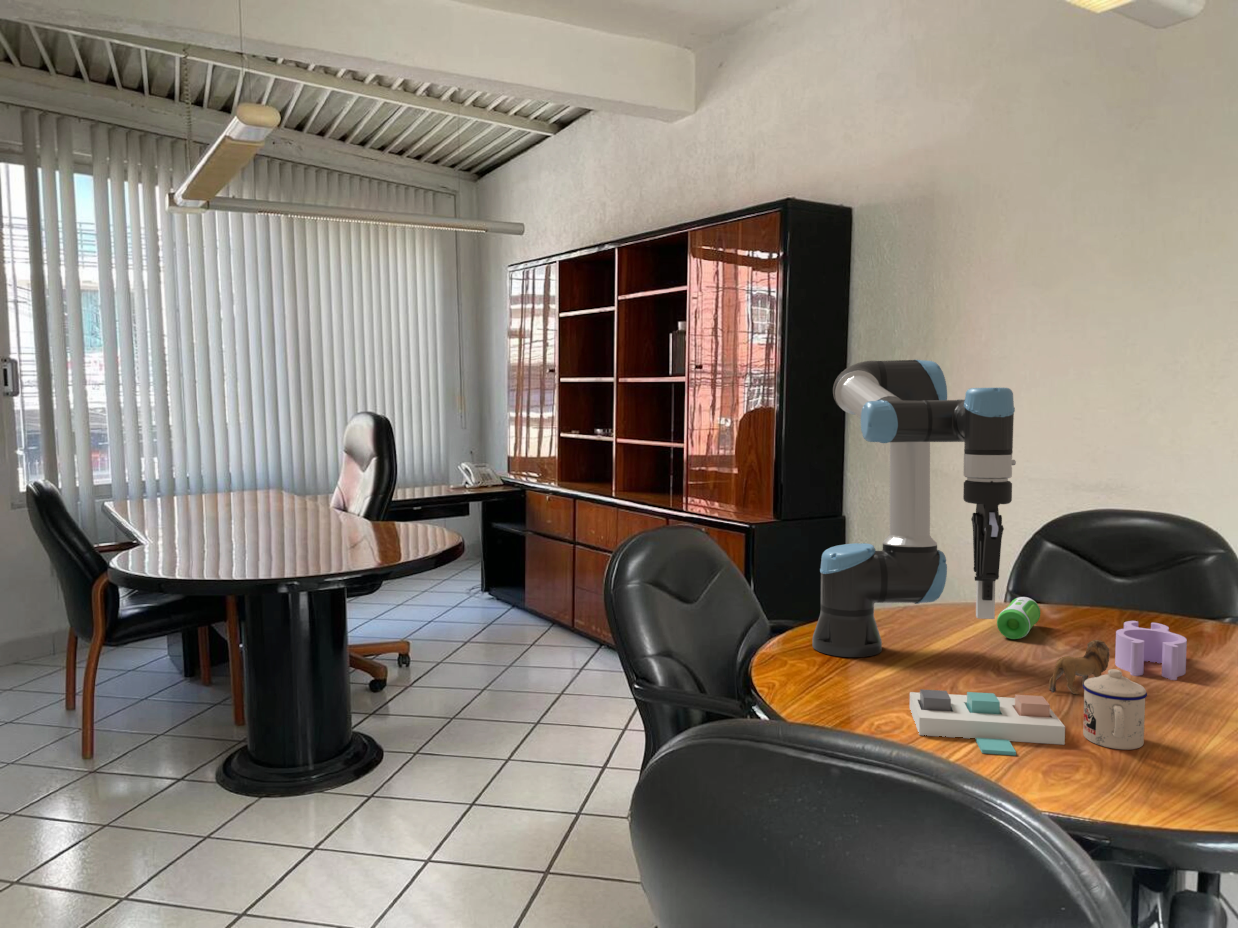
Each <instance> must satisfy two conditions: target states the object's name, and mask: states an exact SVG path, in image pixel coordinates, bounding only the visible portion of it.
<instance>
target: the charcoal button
mask: <svg viewBox="0 0 1238 928" xmlns="http://www.w3.org/2000/svg"><path fill="white" fill-rule="evenodd" d="M919 693H920V708H921V710H933V711H950V712H951V699H950V697H949V695H948V694H949V693H948V691H947V690H941V689H940V690H938V689H937V690H936V689H923V688H922V689H919Z"/></svg>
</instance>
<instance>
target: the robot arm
mask: <svg viewBox="0 0 1238 928" xmlns="http://www.w3.org/2000/svg"><path fill="white" fill-rule="evenodd" d="M832 394H833V399H834V401H835V404H836V405H837V406H838V407H839V408H840V409H841V410H842V411H844V412H845V413H847V414H850V415H856V416H857V417H858V418H859V419H860V431H861V433H862V438H863V439H864V440H865V441H867V442H868V443H879V444H889V535H888V536H887V537H886V538H885V539H884V540H883V541H882V549H881V550H876V548H875V546H874V545H873V544H871V543H865V542H863V543H858V542H855V543H846V544H839V545H835V546H831V547H829V548H827V549H825V550H824V551H823V552H822V554H821V558H820V559H821V561H820V568H819V572H820V613H819V616H818V620H817V622H816V626H815V628H814V631H813V634H812V648H813V650H815V651H817V652H819V653H822V654H825V655H826V654H827V655H829V656H834V657H840V658H841V657H843V658H867V657H871V656H876V655H879V654H880V653H881V652H882V647H883V646H882V642H883V641H882V637H881V634H880V632H879V628H878V625H877V621H876V619H875V603H877V604H878V603H880V604H894V603H898V604H899V603H902V604H904V603H905V604H909V603H910V604H916V605H919V604H922V603H923V604H924V603H925V604H926V603H927V604H928V603H933V602H936V601H937V600H939V598H940V597H941V596H942V594H943V592H944V589H945V586H946V581H947V577H948V576H947V574H948V564H947V557H946V555H945V553H944V551H941V550H939V549H938V542H936V541H935V540H934V538H932V536H931V443H964V448H963V476H964V477H965V478H966V480H964V481H963V498H962V499H963V501H964V502H965V503H968V504H974V505H976V506H975V512H972V516H971V524H972V525H971V526H972V540H973V541H972V543H973V545H972V546H973V549H972V550H973V551H972V552H973V571H974V573H975V576H974V581H975V582H976V588H975V589H976V591H975V596H976V597H975V618H977V619H979V620H981V619H984V620H987V619H988V620H995V617H996V614H995V611H996V610H995V609H996V607H995V606H996V581H997V580H999V579H1000V565H1001V564H1000V563H1001V562H1000V561H1001V553H1002V552H1001V551H1002V550H1001V549H1002V539H1003V534H1004V530H1005V528H1004V525H1003V516H1002V515H1001V514H1000V512H999V510H1000V509H999V506H1000V505H1008V504H1010V503H1012V500H1013V483H1012V482H1011V481H1010V480H1009V479H1011V478H1012V477H1013V467H1012V466H1015V465H1016V464H1017V463H1016V462H1017V461H1016V460H1015V459H1013V448H1014V420H1015V418H1014V417H1015V416H1014V415H1015V412H1016V409H1015V405H1014V403H1015V402H1014V392H1013V391H1012V389H1011V388H1009V387H971V388H968V389H967V390H966V391H965V396H964V397H965V398H964V399H948V387H947V381H946V377H945V374H944V371H943V370H942V367H941V366H940V365H939V364H938V363H937V362H935V361H933V360H927V359H926V360H924V359H922V360H921V359H907V360H906V359H904V360H900V359H899V360H897V359H896V360H895V359H894V360H867V361H860V362H858V363H854V364H852V365H850V366H848V367H847V368H845V369H844V370H843V371H841V372H840V373H839V374H838V375H837V377H836V379H835V381H834V383H833V387H832Z"/></svg>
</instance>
